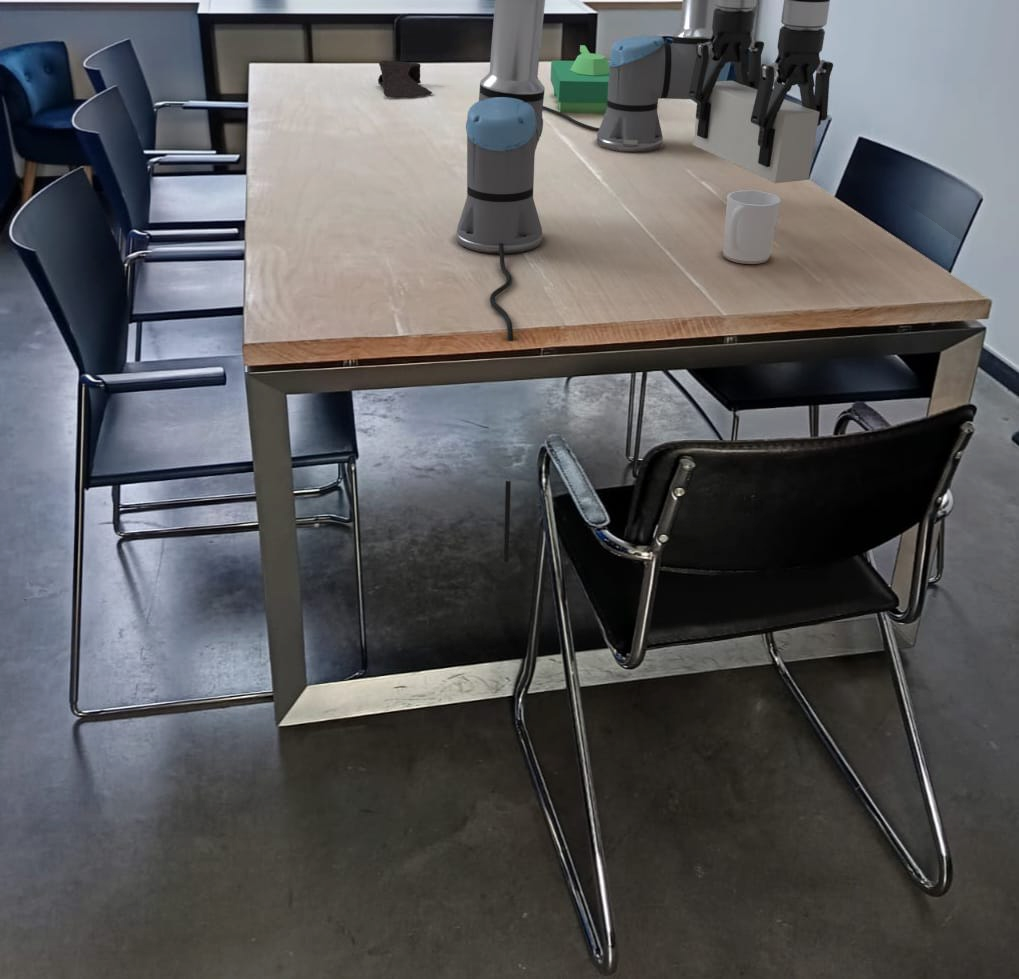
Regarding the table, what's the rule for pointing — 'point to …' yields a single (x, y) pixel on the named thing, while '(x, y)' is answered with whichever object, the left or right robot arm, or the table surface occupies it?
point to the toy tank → (581, 83)
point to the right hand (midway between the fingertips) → (719, 135)
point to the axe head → (401, 79)
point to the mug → (750, 226)
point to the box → (740, 137)
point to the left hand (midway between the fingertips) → (782, 162)
